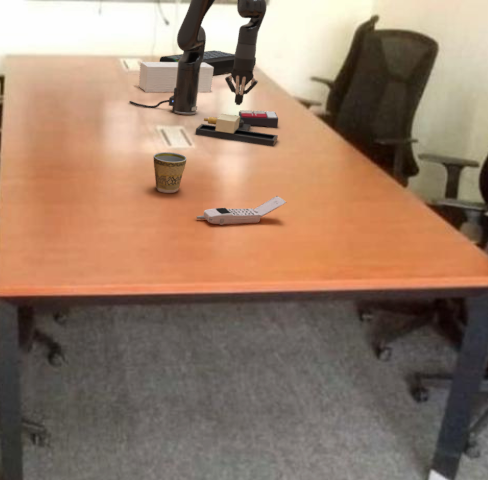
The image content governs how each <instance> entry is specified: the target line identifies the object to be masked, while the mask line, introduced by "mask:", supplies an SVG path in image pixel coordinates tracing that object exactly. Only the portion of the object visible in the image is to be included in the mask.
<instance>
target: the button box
mask: <svg viewBox="0 0 488 480" xmlns="http://www.w3.org/2000/svg"><path fill="white" fill-rule="evenodd" d="M251 128H252V127H251V125H249V124H244V121H243V120H241V119H240V122H239V128H238V129H239V130H246V131H250V129H251Z"/></svg>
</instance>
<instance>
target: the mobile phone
mask: <svg viewBox="0 0 488 480" xmlns="http://www.w3.org/2000/svg"><path fill="white" fill-rule="evenodd" d="M285 204H287V202H286V200H285V199H283V197H282V198H281V197H280V196H278V195H276V196H274V197H272V198H270V199H269V200H266V201H265V202H263V203H261V204H260V205H258V206H257V207H255V208H253V207H251V208H226V207H214V208H208V209H204V211H203V215H197V216H196V220H206V221H207V222H208V223H209V224H213V225H221V226H223V225H236V224H237V225H238V224H239V225H240V224H256V223H259V222H260V220H261V218H263V217H264V216H266V215H268V214H269V213H271V212H273V211H274V210H277V209H278V208H280V207H282V206H284V205H285Z"/></svg>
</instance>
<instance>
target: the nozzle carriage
mask: <svg viewBox="0 0 488 480" xmlns="http://www.w3.org/2000/svg"><path fill="white" fill-rule="evenodd" d="M235 115H236V114H229V113H228V114H227V113H221V114H220V115H219V116H218V117H213V116H208V118H207V117H204V118H203V121H204V122H207V124H208V125H215V126H216V129H215V131H219V132H225V133H232V134H235V132H236V130H237V129H238V128H239V120H240V116H239V115H237V116H235Z"/></svg>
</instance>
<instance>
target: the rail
mask: <svg viewBox="0 0 488 480" xmlns="http://www.w3.org/2000/svg"><path fill="white" fill-rule="evenodd" d="M215 129H216V125H213V124H205V123H201V124H199V125H198V126H197V127H196V128H195V134H194V135H197V136H202V137H203V136H204V137H208V138H209V137H210V138H215V139H216V138H217V139H223V140H228V141H234V142H235V141H236V142H240V143H241V142H242V143H248V144H255V145H261V146H268V147H274V146H275V144H276V143H277V142H278V138H279V137H278V136H279V135H278V134H272V133H266V132H258V131H252V130H248V131H246V130H239V129H237V130H236V132H235V134H232V133H225V132H219V131H215Z"/></svg>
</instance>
